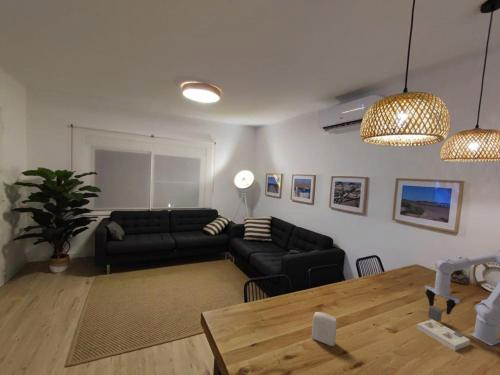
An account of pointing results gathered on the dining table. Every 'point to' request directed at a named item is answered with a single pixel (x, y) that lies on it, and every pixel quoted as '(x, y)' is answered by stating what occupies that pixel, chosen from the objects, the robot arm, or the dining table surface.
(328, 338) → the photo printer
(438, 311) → the plug
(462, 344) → the sorting tray
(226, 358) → the dining table surface
